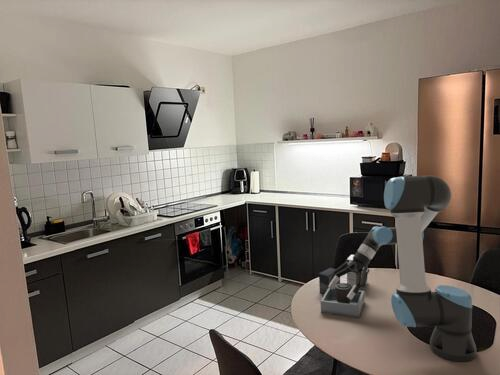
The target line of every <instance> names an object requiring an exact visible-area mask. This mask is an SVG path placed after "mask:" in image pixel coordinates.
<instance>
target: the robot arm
mask: <svg viewBox="0 0 500 375" xmlns="http://www.w3.org/2000/svg"><path fill="white" fill-rule="evenodd" d="M451 190H452V189H451V188H450V186H449V184H448V183H447V182H446V181H445V180H444V179H443V178H441V177H439V176H437V175H432V174H431V175H430V174H429V175H413V176H412V175H411V176H409V175H408V176H407V175H406V176H397V177H392V178H390V179H389V180H388V181H387V182H386V184H385V187H384V191H383V202H384V203H383V204H384V206H385V209H387V210H390V215H391V216H392V217H394V218H395V219H394V220H395V227H388V226H387V227H386V226H373V227H372V229H370V231H369V233H368V234H367V235H366V237H365V239H364V240H363V242H362V243H361V244H360V245H359V248H358V249H357V251H356V252H355V254H353V255H354V256H353V261H352V262H351V261H349V260H348V258H347V259H346V260H345V262H344V263H342V264H341V265H340V266H338V267H337V268H335V269H336V270H334V271H333V273H334V274H335V276H334V277H333V279H332V281H331V283H330V284H329V286H328V287H329V288H330V289H332V290H333V288H334V286H335V285H336V284H337V282H338V281H339V278H340V279H341V277H343V276H345V275H347V273H349V272H353V273H355V274H356V285H357V286H356V285H354V286H353V287H352V289H351V291H350V292H349V294H348V295H347V297H348V298H349V299H350V300H352V298H353V297H354V295H355V294H357V292H358V291H359V290H360V289H363V288H364V289H366V286H367V284H366V281H367V280H368V275H369V273H370V270H371V269H370V268H368V265H369V264H370V263H371V260H372V259H373V258H374V257H375V255H376V253H377V252H378V250H379V248H380V247H381V246H383V245H385V246H386V245H397V256H398V270H399V284H398V285H397V286H396V292H395V293H393V294H392V295H391V298H390V301H391V307H392V311H393V314H394V316H395V318H396V320H397V322H398V323H399V324H400V325H401V326H402V327H404V328H405V327H407V328H408V327H409V328H416V327H418V328H419V327H433V326H434V329H433V331H432V334H431V336H430V339H429V348H430V350H431V351H432V352H433V353H434V354H435V355H436V356H438V357H440V358H442V359H445V360H449V361H452V362H458V363H459V362H460V363H461V362H464V363H465V362H470V361H473V360H474V359H475V358H477V346H476V343H475V340H474V337H473V334H472V322H473V321H472V320H473V318H472V317H473V315H472V313H473V298H472V296H471V294H470V293H468V292H467V291H466V290H464V289H462V288H459V287H455V286H453V285H444V284H442V285H437V286H435V288H434V291H432V289H431V287H430V286H429V285H428V284H427V283H426V282H427V281H426V269H425V256H424V244H423V240H424V237H425V233H424V230H425V229H426V228H427V227H428V226H429V225H430V223H431V222H432V221H433V220H434V218H435V217H436V216H437V215H438V213H440V212H443V211H444V210H446V208H448V206H449V204H450V203H451V200H452V191H451ZM362 271H363V272H362ZM338 274H339V275H338ZM361 276H362V277H361Z"/></svg>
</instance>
